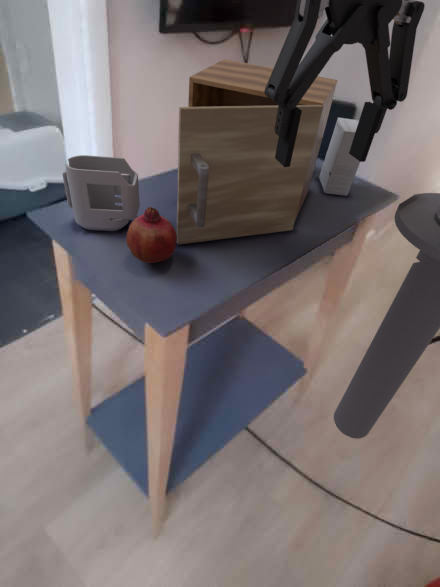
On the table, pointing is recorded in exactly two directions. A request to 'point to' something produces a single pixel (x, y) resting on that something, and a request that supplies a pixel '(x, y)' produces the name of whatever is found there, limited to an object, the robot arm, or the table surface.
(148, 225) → the fruit
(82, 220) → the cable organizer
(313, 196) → the table surface
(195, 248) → the table surface
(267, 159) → the cupboard door
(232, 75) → the cupboard
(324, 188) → the cosmetic box
